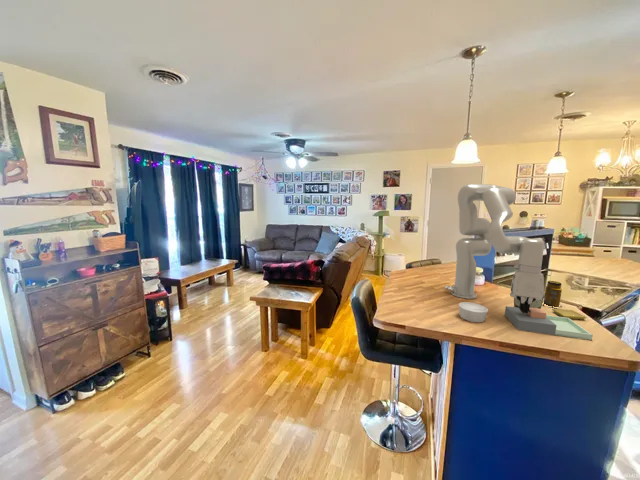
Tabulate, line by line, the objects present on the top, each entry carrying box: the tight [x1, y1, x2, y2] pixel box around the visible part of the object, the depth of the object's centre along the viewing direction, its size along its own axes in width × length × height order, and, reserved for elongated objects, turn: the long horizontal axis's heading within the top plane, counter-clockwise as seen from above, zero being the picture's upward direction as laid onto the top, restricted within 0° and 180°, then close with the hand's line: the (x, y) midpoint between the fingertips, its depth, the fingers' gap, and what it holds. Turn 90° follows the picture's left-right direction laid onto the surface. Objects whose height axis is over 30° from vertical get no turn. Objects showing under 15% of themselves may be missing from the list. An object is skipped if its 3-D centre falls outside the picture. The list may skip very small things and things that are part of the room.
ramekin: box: [458, 301, 489, 323], centre depth 115 cm, size 11×11×5 cm
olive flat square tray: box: [551, 308, 587, 320], centre depth 120 cm, size 9×9×2 cm
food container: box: [513, 294, 545, 310], centre depth 124 cm, size 12×6×10 cm, turn 71°
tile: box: [527, 308, 547, 319], centre depth 109 cm, size 5×5×2 cm
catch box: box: [546, 314, 593, 341], centre depth 107 cm, size 11×16×2 cm
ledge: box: [504, 305, 556, 336], centre depth 110 cm, size 12×16×4 cm
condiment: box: [543, 280, 563, 307], centre depth 132 cm, size 7×8×12 cm
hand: (523, 311), depth 110 cm, fingers closed
